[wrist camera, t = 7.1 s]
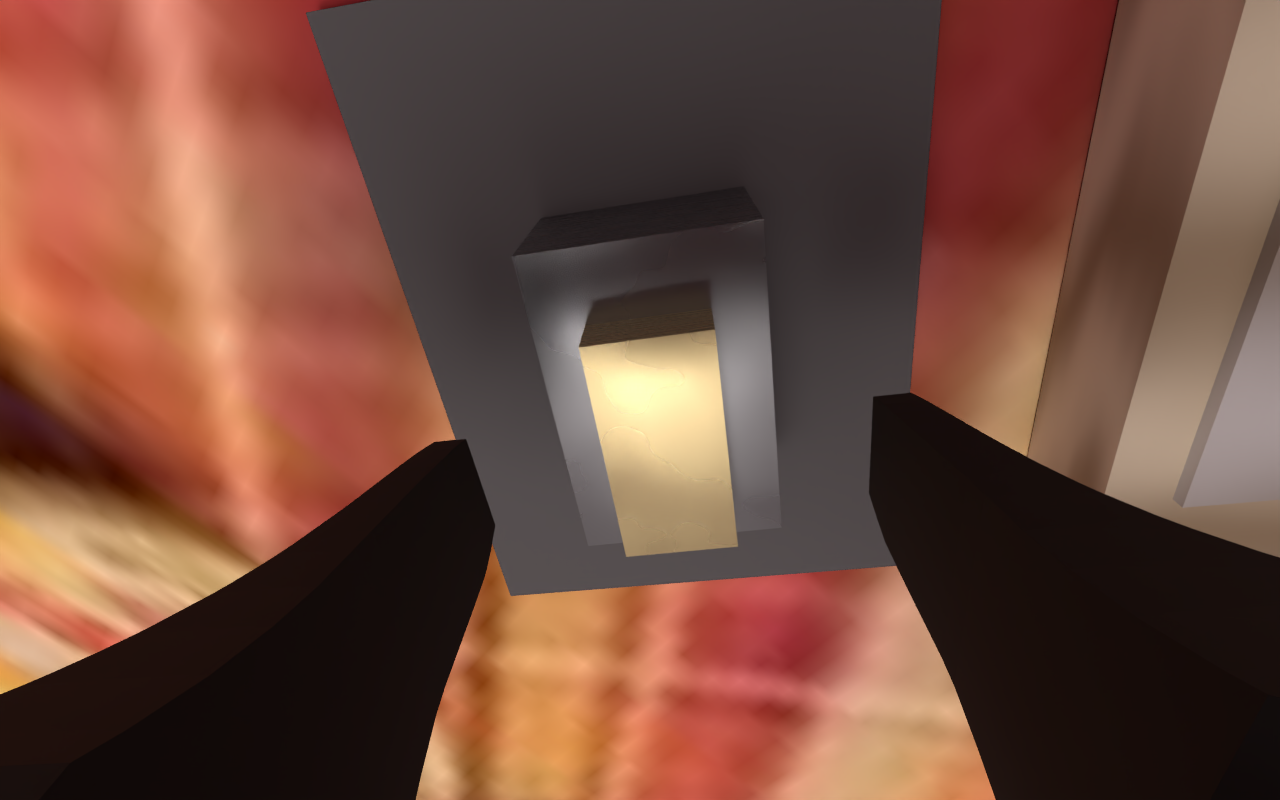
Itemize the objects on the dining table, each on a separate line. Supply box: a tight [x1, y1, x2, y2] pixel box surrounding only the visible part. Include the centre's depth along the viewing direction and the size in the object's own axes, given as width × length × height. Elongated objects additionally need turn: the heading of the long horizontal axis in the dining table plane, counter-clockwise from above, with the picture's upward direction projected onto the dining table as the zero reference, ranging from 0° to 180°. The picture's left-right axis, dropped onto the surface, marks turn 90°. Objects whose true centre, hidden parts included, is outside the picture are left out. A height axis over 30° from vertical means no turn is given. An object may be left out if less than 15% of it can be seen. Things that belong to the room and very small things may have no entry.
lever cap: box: [511, 186, 781, 557], centre depth 13 cm, size 7×4×4 cm, turn 9°
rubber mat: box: [306, 0, 942, 596], centre depth 15 cm, size 16×12×1 cm
